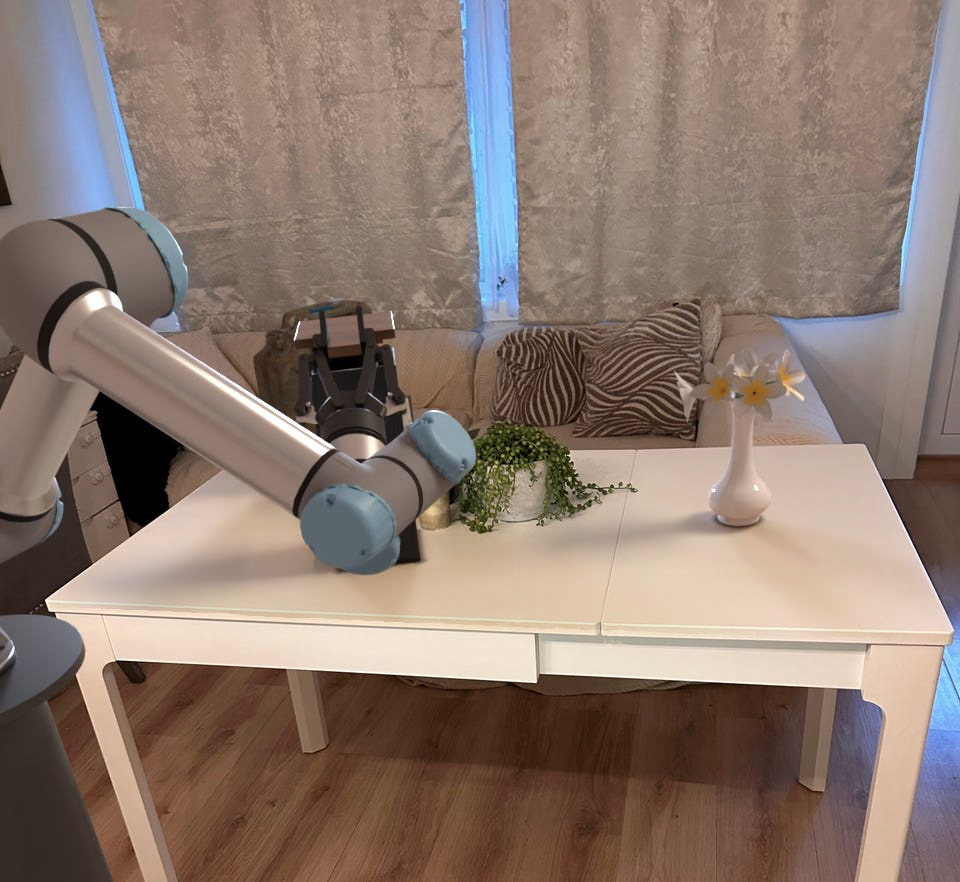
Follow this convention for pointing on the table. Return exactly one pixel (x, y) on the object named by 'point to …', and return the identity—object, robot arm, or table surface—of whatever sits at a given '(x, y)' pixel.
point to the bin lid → (345, 333)
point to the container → (292, 355)
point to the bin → (347, 379)
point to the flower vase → (743, 426)
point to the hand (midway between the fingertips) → (341, 317)
